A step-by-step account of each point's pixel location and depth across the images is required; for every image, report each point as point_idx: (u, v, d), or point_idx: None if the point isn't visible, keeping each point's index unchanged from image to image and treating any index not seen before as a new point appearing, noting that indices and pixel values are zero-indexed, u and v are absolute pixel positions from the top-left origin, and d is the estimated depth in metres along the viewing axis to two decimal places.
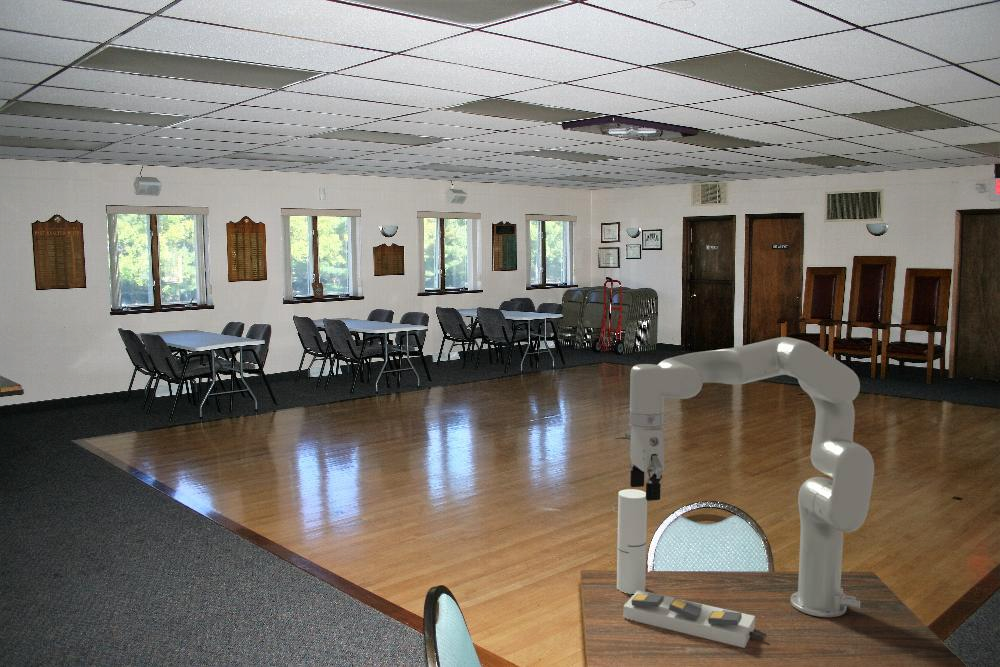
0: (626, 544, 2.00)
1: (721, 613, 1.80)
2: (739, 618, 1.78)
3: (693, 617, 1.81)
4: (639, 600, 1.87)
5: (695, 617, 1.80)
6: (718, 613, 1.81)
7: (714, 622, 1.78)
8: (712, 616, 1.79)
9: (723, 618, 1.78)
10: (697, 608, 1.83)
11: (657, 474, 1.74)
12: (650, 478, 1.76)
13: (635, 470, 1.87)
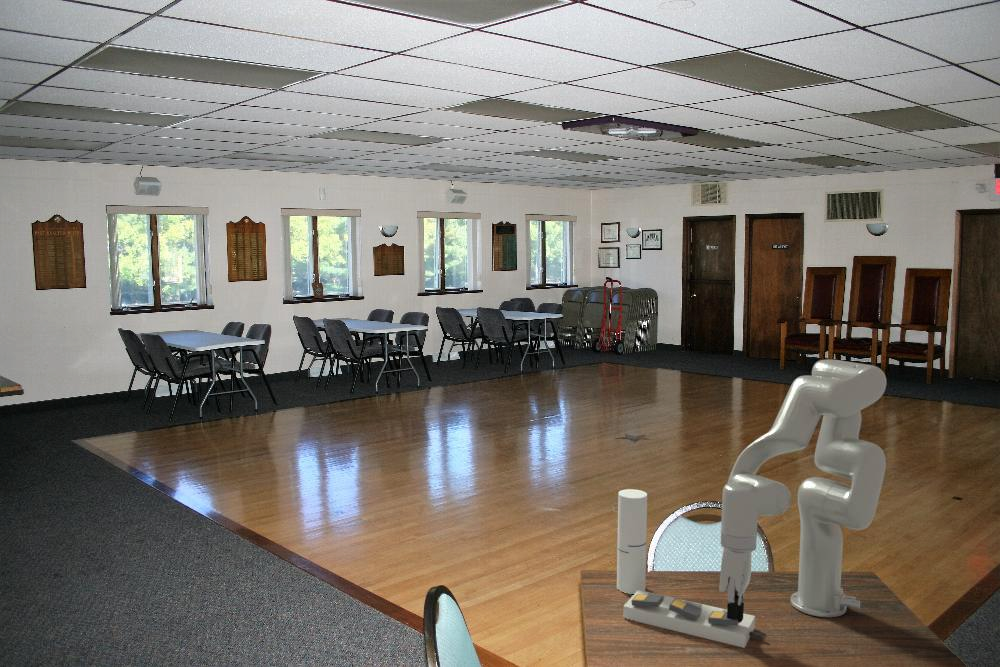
0: (626, 544, 2.00)
1: (721, 613, 1.80)
2: None
3: (693, 617, 1.81)
4: (639, 600, 1.87)
5: (695, 617, 1.80)
6: (718, 612, 1.81)
7: (714, 622, 1.78)
8: (712, 616, 1.79)
9: (723, 618, 1.78)
10: (697, 608, 1.83)
11: None
12: None
13: None
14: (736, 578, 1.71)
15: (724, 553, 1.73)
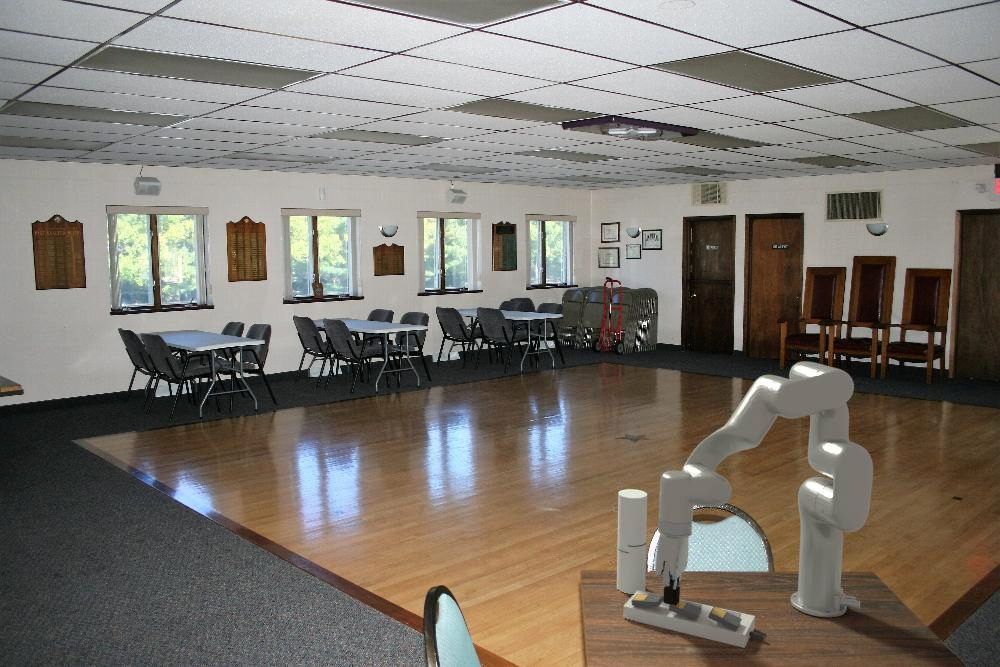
0: (626, 544, 2.00)
1: (722, 612, 1.80)
2: (739, 624, 1.78)
3: (693, 616, 1.81)
4: (639, 600, 1.87)
5: (695, 616, 1.80)
6: (719, 610, 1.80)
7: (714, 619, 1.78)
8: (714, 612, 1.79)
9: (724, 619, 1.78)
10: (697, 607, 1.83)
11: None
12: None
13: None
14: (671, 562, 1.79)
15: (660, 538, 1.80)
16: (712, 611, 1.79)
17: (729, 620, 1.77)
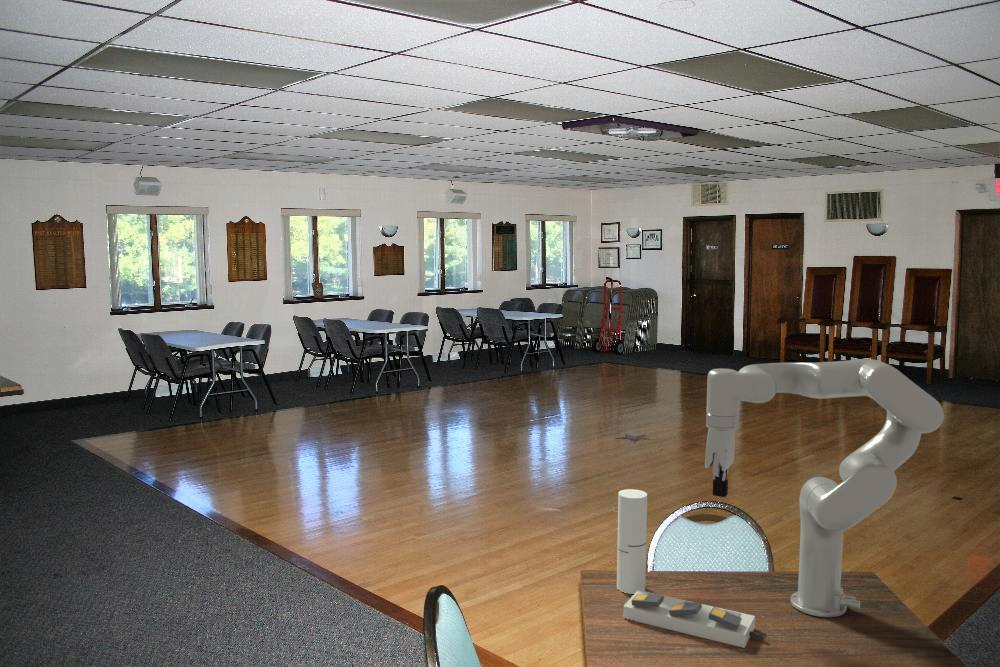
0: (626, 544, 2.00)
1: (722, 612, 1.80)
2: (739, 623, 1.78)
3: (693, 612, 1.80)
4: (639, 600, 1.87)
5: (695, 611, 1.80)
6: (719, 610, 1.80)
7: (714, 619, 1.78)
8: (713, 613, 1.79)
9: (724, 618, 1.78)
10: (696, 603, 1.83)
11: None
12: None
13: None
14: (720, 454, 1.87)
15: (709, 432, 1.89)
16: (712, 612, 1.80)
17: (729, 620, 1.77)
